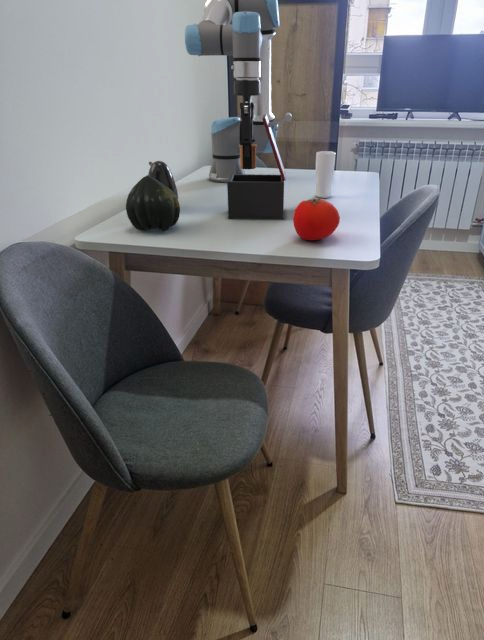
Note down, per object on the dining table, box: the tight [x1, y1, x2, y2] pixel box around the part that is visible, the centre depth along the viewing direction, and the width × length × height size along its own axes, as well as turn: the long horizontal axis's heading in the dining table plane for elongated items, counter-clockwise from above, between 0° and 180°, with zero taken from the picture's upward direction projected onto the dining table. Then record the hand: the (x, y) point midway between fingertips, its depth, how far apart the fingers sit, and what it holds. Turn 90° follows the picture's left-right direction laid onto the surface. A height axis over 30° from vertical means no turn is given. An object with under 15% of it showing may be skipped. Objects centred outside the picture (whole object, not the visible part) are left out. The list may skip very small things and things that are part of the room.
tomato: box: [292, 197, 341, 241], centre depth 127 cm, size 13×12×11 cm
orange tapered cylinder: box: [239, 144, 257, 170], centre depth 143 cm, size 5×5×6 cm
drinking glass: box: [315, 150, 336, 199], centre depth 169 cm, size 7×7×15 cm
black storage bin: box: [226, 173, 285, 220], centre depth 149 cm, size 17×12×11 cm
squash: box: [125, 174, 181, 232], centre depth 136 cm, size 14×15×15 cm
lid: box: [262, 112, 293, 182], centre depth 141 cm, size 18×12×8 cm
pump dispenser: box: [147, 160, 179, 199], centre depth 152 cm, size 10×10×15 cm
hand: (248, 166), depth 145 cm, fingers closed on orange tapered cylinder, 5 cm apart
